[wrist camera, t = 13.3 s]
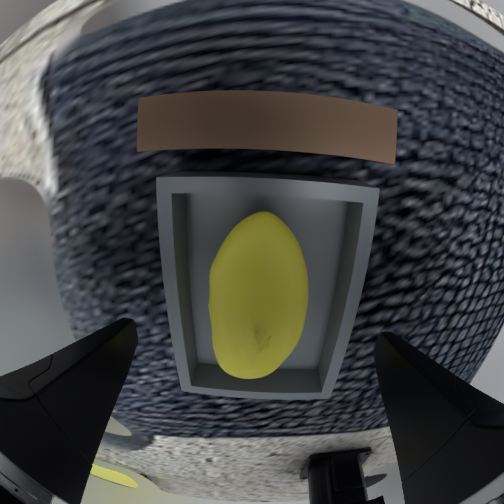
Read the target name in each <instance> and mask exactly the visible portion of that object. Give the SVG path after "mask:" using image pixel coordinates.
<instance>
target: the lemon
mask: <svg viewBox="0 0 504 504" xmlns="http://www.w3.org/2000/svg"><path fill="white" fill-rule="evenodd" d="M209 288H210V294H209V304H208V308H209V314H210V319H211V326H212V344H213V349H214V353H215V356H216V359H217V362H218V364H219V365H220V367H221V368H222V369H223V370H224V371H225V372H226V373H228V374H230V375H232V376H234V377H238V378H243V379H256V378H261V377H264V376H266V375H268V374H270V373H272V372H273V371H275V370H276V369H277V368H278V367H279V366H280V365H281V364H282V363H283V362H284V360H285V359H286V358H287V357H288V356H289V355H290V354H291V352H292V351H293V350H294V348H295V346H296V345H297V343H298V341H299V339H300V336H301V334H302V331H303V327H304V323H305V318H306V313H307V306H308V275H307V269H306V264H305V260H304V257H303V254H302V251H301V248H300V245H299V243H298V241H297V239H296V237H295V235H294V234H293V232H292V231H291V230H290V229H289V227H288V226H287V225H286V224H285V223H284V222H283V221H282V220H281V219H280V218H278V217H277V216H276V215H274V214H272V213H270V212H266V211H262V212H257V213H255V214H252V215H250V216H248V217H247V218H245V219H244V220H242V221H241V222H240V223H238V224H237V225H236V226H235V227H234V228H233V229H232V231H231V232H230V233H229V235H228V236H227V237H226V239H225V240H224V242H223V244H222V245H221V247H220V249H219V251H218V253H217V255H216V258H215V259H214V261H213V263H212V265H211V268H210V275H209Z"/></svg>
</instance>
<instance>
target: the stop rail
mask: <svg viewBox="0 0 504 504" xmlns="http://www.w3.org/2000/svg"><path fill="white" fill-rule="evenodd" d="M396 139H397V110H395V109H391V108H387V107H383V106H378V105H374V104H369V103H364V102H359V101H353V100H347V99H341V98H335V97H328V96H320V95H312V94H303V93H291V92H277V91H253V90H222V91H198V92H184V93H173V94H164V95H155V96H148V97H141V98H138V118H137V152H141V151H158V150H179V149H257V150H277V151H292V152H305V153H315V154H325V155H334V156H342V157H350V158H357V159H364V160H371V161H377V162H384V163H390V164H395V155H396Z"/></svg>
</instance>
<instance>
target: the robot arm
mask: <svg viewBox="0 0 504 504" xmlns="http://www.w3.org/2000/svg"><path fill="white" fill-rule="evenodd" d="M137 343H138V334H137V330H136V326H135V322H134V320H133V319H130V318H121V319H119V320H117V321H115V322H114V323H112V324H110V325H108V326H106V327H104V328H102V329H100V330H98V331H96V332H94V333H92V334H90V335H88V336H86V337H84V338H82V339H80V340H78V341H76V342H74V343H72V344H70V345H68V346H67V347H65V348H63V349H61V350H59V351H57V352H55V353H53V354H51V355H49V356H47V357H45V358H43V359H41V360H39V361H37V362H35V363H32V364H30V365H28V366H25V367H23V368H20V369H18V370H15V371H13V372H10V373H8V374H5V375H3V376H0V504H51V503H52V501H53V498H54V496H55V497H57V498H58V499H60V500H62V501H63V502H65V503H67V504H80V503H81V500H82V496H83V493H84V490H85V487H86V483H87V480H88V477H89V474H90V471H91V468H92V464H93V462H94V459H95V456H96V453H97V451H98V448H99V445H100V442H101V440H102V437H103V434H104V432H105V429H106V426H107V424H108V421H109V419H110V416H111V414H112V411H113V409H114V406H115V404H116V401H117V399H118V396H119V394H120V392H121V389H122V387H123V385H124V382H125V380H126V377H127V375H128V372H129V369H130V366H131V362H132V359H133V356H134V353H135V349H136V346H137ZM374 360H375V365H376V371H377V376H378V382H379V388H380V392H381V395H382V399H383V403H384V406H385V410H386V414H387V418H388V421H389V425H390V430H391V434H392V438H393V442H394V447H395V451H396V456H397V461H398V465H399V470H400V475H401V481H402V488H403V494H404V500H405V504H504V404H503V403H501V402H499V401H497V400H496V399H494V398H492V397H490V396H488V395H487V394H485V393H483V392H481V391H479V390H478V389H476V388H474V387H473V386H471V385H470V384H468V383H467V382H465V381H464V380H462V379H461V378H459V377H458V376H455V374H453V373H452V372H450V371H449V370H447V369H446V368H444V367H443V366H441V365H440V364H438V363H437V362H435V361H434V360H433V359H431V358H430V357H428V356H427V355H425V354H424V353H422V352H421V351H419V350H418V349H416V348H415V347H413V346H412V345H410V344H409V343H407V342H406V341H404V340H403V339H401V338H400V337H398V336H397V335H395V334H394V333H392V332H381V333H380V334H379V336H378V339H377V342H376V345H375V348H374ZM371 453H372V450H371V449H363V450H356V451H349V452H341V453H331V454H319V455H312V456H310V457H309V459H308V460H307V462H306V464H305V466H304V468H303V470H302V472H301V474H300V479H308V484H309V500H310V504H385V502H384V498H383V496H380V497H377V498H376V499H372V500H368V495H367V489H366V484H365V478H364V473H363V468H362V464H363V463H364V462H365V460H366V459H367V458H368V457H369V456H370V455H371Z"/></svg>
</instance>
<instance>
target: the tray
mask: <svg viewBox="0 0 504 504" xmlns="http://www.w3.org/2000/svg"><path fill="white" fill-rule="evenodd" d="M156 191H157V213H158V229H159V242H160V254H161V264H162V274H163V282H164V291H165V298H166V306H167V313H168V319H169V326H170V332H171V338H172V344H173V349H174V355H175V360H176V365H177V370H178V375H179V380H180V385H181V389H182V391H185V392H192V393H200V394H208V395H217V396H227V397H239V398H254V399H286V400H299V399H330V396H331V393H332V391H333V388H334V385H335V382H336V380H337V377H338V374H339V371H340V368H341V365H342V362H343V359H344V355H345V352H346V349H347V346H348V342H349V339H350V335H351V332H352V328H353V325H354V321H355V317H356V314H357V310H358V306H359V302H360V298H361V294H362V289H363V285H364V280H365V276H366V271H367V266H368V261H369V256H370V251H371V245H372V240H373V234H374V228H375V221H376V214H377V207H378V199H379V191H380V189H379V188H377V187H374V186H372V185H369V184H367V183H364V182H361V181H358V180H350V179H341V178H331V177H321V176H309V175H297V174H281V173H262V172H232V171H178V172H173V173H170V174H166V175H163V176H159V177H156ZM262 211H266V212H270V213H272V214H274V215H276V216H277V217H278V218H280V219H281V220H282V221H283V222H284V223H285V224H286V225H287V226H288V227H289V229H290V230H291V231H292V232H293V234H294V235H295V237H296V239H297V241H298V243H299V245H300V248H301V251H302V254H303V257H304V260H305V264H306V269H307V275H308V306H307V313H306V318H305V323H304V327H303V331H302V334H301V336H300V339H299V341H298V343H297V345H296V346H295V348H294V350H293V351H292V352H291V354H290V355H289V356H288V357H287V358H286V359H285V360H284V362H283V363H282V364H281V365H280V366H279V367H278V368H277V369H276V370H275V371H273V372H272V373H270V374H268V375H266V376H264V377H261V378H256V379H243V378H238V377H234V376H232V375H230V374H228V373H226V372H225V371H224V370H223V369H222V368H221V367H220V365H219V364H218V362H217V359H216V356H215V353H214V349H213V344H212V326H211V319H210V314H209V308H208V304H209V294H210V288H209V275H210V268H211V265H212V263H213V261H214V259H215V258H216V255H217V253H218V251H219V249H220V247H221V245H222V244H223V242H224V240H225V239H226V237H227V236H228V235H229V233H230V232H231V231H232V229H233V228H234V227H235V226H236V225H237V224H238V223H240V222H241V221H242V220H244V219H245V218H247V217H248V216H250V215H252V214H255V213H257V212H262Z"/></svg>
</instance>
